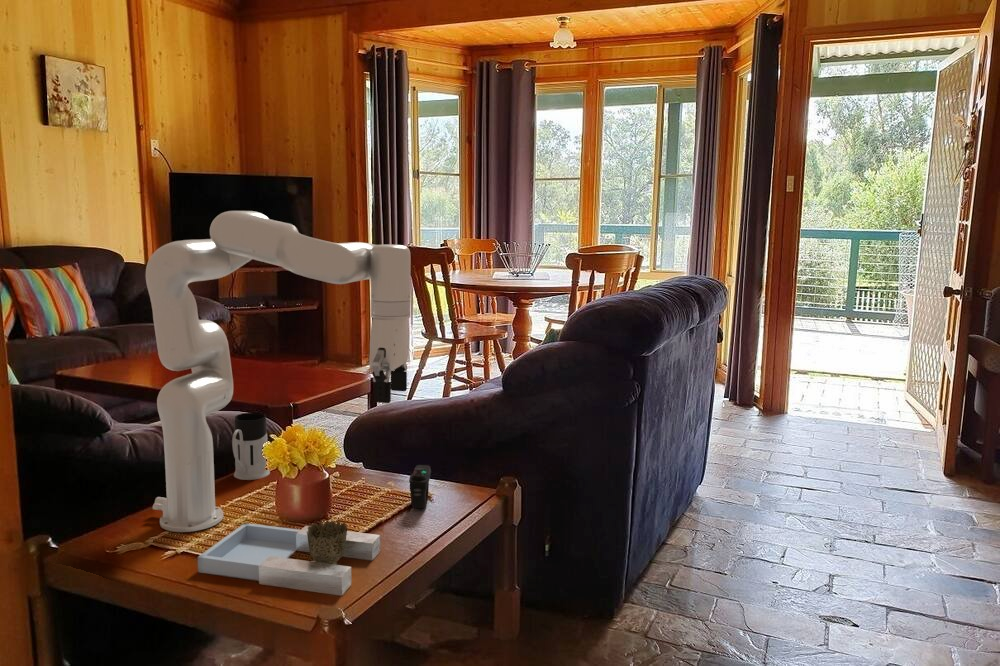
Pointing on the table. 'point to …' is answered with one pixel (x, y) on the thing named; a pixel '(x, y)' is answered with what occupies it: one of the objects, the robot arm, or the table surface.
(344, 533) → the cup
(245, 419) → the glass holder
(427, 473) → the controller
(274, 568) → the groove rails
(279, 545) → the tray
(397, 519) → the table surface
